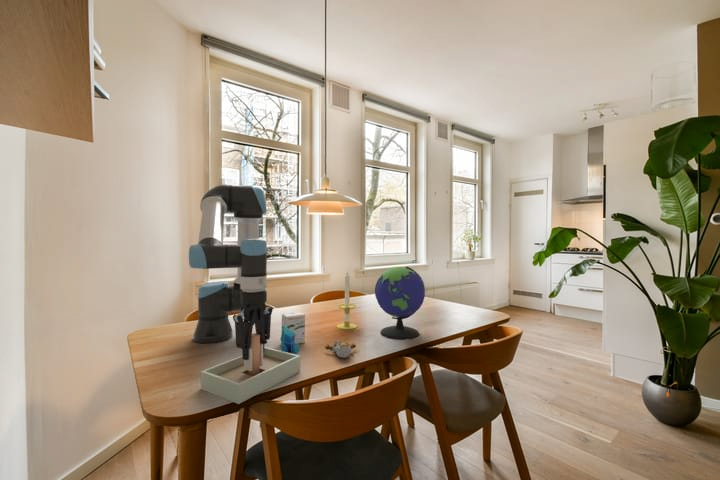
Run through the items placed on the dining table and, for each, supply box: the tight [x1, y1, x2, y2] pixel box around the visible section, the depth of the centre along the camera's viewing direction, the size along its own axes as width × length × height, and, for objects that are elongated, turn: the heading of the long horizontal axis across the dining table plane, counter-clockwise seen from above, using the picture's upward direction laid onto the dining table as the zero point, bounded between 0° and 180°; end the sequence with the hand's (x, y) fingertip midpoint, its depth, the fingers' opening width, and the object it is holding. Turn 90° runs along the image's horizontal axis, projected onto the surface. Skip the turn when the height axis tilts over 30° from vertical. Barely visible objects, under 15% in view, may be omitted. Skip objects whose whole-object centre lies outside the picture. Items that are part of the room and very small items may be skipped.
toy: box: [324, 339, 357, 359], centre depth 122 cm, size 12×5×15 cm
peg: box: [247, 332, 260, 376], centre depth 99 cm, size 4×4×13 cm
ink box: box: [280, 311, 306, 345], centre depth 133 cm, size 9×5×12 cm, turn 123°
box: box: [200, 346, 301, 405], centre depth 99 cm, size 16×24×5 cm, turn 150°
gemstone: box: [280, 325, 300, 355], centre depth 115 cm, size 7×9×12 cm
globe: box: [374, 266, 426, 341], centre depth 146 cm, size 22×22×30 cm
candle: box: [336, 271, 358, 331], centre depth 156 cm, size 10×10×27 cm
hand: (253, 367), depth 99 cm, fingers closed on peg, 3 cm apart
